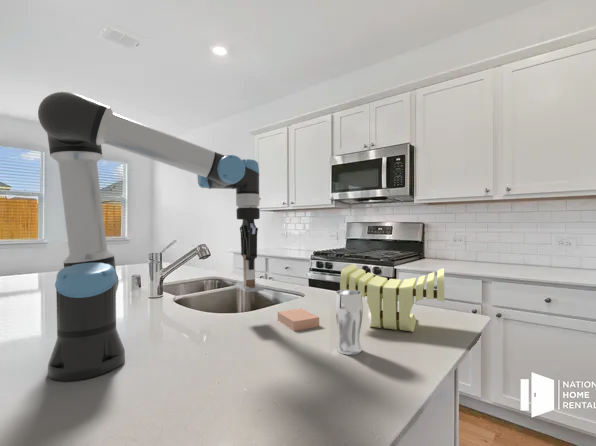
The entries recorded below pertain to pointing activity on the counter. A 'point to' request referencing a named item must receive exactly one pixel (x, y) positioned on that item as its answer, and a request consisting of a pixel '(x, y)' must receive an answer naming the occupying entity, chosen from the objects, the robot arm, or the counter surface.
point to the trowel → (248, 281)
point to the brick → (298, 319)
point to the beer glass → (349, 320)
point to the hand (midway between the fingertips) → (249, 278)
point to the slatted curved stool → (391, 295)
